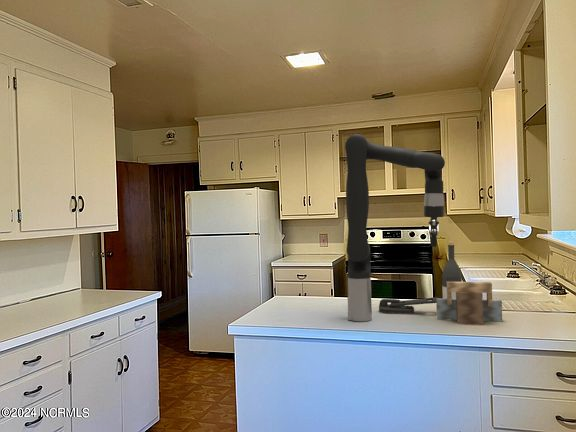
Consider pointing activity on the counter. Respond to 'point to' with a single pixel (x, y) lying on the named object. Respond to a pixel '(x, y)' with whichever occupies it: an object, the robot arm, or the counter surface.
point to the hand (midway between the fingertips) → (433, 245)
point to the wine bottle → (450, 271)
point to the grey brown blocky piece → (469, 309)
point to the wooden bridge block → (469, 289)
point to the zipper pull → (401, 305)
